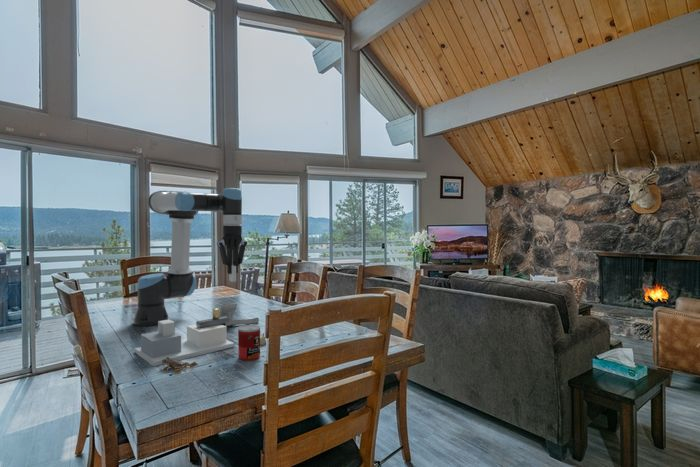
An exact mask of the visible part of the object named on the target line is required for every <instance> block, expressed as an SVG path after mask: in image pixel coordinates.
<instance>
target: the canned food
mask: <svg viewBox="0 0 700 467" xmlns="http://www.w3.org/2000/svg"><path fill="white" fill-rule="evenodd" d="M237 331H238V332H237V335H238V336H237V338H238V339H237V340H238V341H237V342H238V354H237V355H238V358H239V360H241V361H243V362H244V361H245V362H251V361H255V360H257V359H260V356H261V345H260V337H261V327H260V326H259V325H257V324H243V325H240V326H239V327H238V330H237Z"/></svg>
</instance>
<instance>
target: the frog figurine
mask: <svg viewBox="0 0 700 467" xmlns="http://www.w3.org/2000/svg"><path fill="white" fill-rule="evenodd" d="M162 362H163V363H162V364H161V365H166V366H164V367H163V369H162V370H161V372H169V368H171V370H172V371H173V372H174V374H183V373H184V371H183V370H185V371H186V373H189V372H192V371H194V368H197V367H198V366H199V362H196V361H193V362H187V361H185V362H184V361H180V360H177V359H169V357H167V358H166V359H163V360H162ZM172 371H171V372H172Z"/></svg>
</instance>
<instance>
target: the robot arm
mask: <svg viewBox="0 0 700 467" xmlns="http://www.w3.org/2000/svg"><path fill="white" fill-rule="evenodd" d="M242 203H243V196H242V189H241V188H235V187H226V188H223V189H222V193H204V192H203V193H202V192H189V191H174V190H158V191H155V192H152V193H151V194H150V195H149V196H148V198H147V205H148V208H149V209H150V210H151V211H152V212H154V213H156V214H159V215H166V216H168V218H169V220H171V222H172V224H171V245H170V246H171V250H170V251H171V252H170V254H171V255H170V268H169V269H168V270H167V273H166V274H167V275H165V274H164V273H163V272H157V273H151V274H146V275H142V276H140V277H139V278H138V279H137V286H136V287H137V309H136V312H135V316H134V318H133V325H134V326H138V327H149V326H150V327H151V326H158V321H163V320H169V314H168V312H167V309H166V306H165V300H168V299H176V298H184V297H189V296H191V295H193V293H194V292H195V290H196V288H197V278H196V275H195V274H194V273H193V271H192V269H191V268H190V250H191V249H190V248H191V247H190V246H191V245H190V244H191V243H190V242H191V223H192V222H193V221H194V219H195V216H196V215H197V216H198V213H199V212H214V213H221V212H222V224H223V226H222V235H223V237H222V240H220V241H218V242H216V245H217V246H218V248H219V254H220V256H221V261H222V265H225V266H226V267H227V269H226V270H227V274H228V275H229V276H228V277H229V278H228V281H229V282H231V283H233V282H234V283H235V282H237V274H238V273H239V266H240V265H241V264H243V260H244V257H245V251H246V246H247V245H248V241H246V240H244V239H243V236H242V234H243V232H242V230H243V229H242V228H243V227H242V226H241V225H242V220H243V218H242V216H243V215H242V214H243V213H242V210H243V209H242V206H243V204H242ZM225 246H226V247H225Z"/></svg>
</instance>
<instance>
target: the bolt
mask: <svg viewBox="0 0 700 467" xmlns="http://www.w3.org/2000/svg"><path fill="white" fill-rule="evenodd" d="M219 313H220V308H218V307H217V308H213V309H212V318H208V319H203V320H202V319H201V320H196V326H197V327H199V328H201V327H207V326H212V325H217V324H221V325H223V324H225V323H228V322H229V317H227V316H224V317H219Z"/></svg>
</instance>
